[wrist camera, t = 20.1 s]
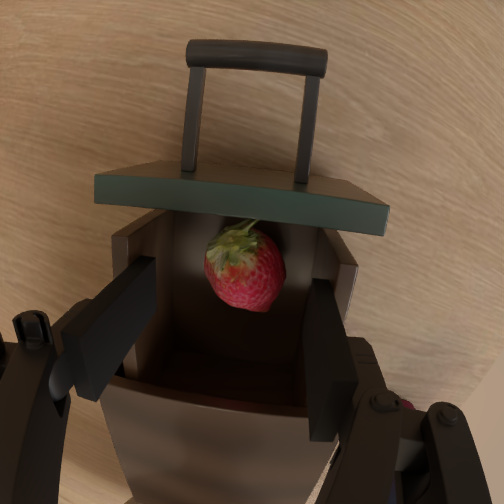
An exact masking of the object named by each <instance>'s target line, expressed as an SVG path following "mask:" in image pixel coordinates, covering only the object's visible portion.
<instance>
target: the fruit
mask: <svg viewBox="0 0 504 504" xmlns="http://www.w3.org/2000/svg"><path fill="white" fill-rule="evenodd" d="M254 220H255V219H246V220H244V221H242V222H241V223H238V224H236V225H232V226H226V227H225V228H224V229H223V230H222V231H220V232H219V233H218V234H216V235H215V236H214V237H213V238H212V240H211V241H209V242H208V243H207V250H206V254H205V260H204V271H205V275H206V276H207V278H208V280H209V281H210V283H211V286H212V287H213V289H214V291H215V293H216V294H217V295H218V296H219V297H220V298H221V299H222V300H224V301H225V302H226V303H228V304H229V305H231V306H234V307H237V308H244V309H247V310H250V311H256V312H267V311H268V310H269V309H270V307H271V304H272V302H273V301H274V300H275V299H276V297H277V296H278V294H279V292H280V290H281V289H282V286H283V284H284V281H285V279H286V277H287V276H286V268H285V262H284V260H283V258H282V255H281V253H280V251H279V249H278V247H277V245H276V244H275V243H274V241H273V240H272V239H271V238H270V237H268V236H267V235H266V234H264V233H263V232H261V231H259V230H256V229H255V228H254V227H253V226H254V224H255V223H256V222H257V221H258V220H255V221H254Z"/></svg>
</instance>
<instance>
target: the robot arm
mask: <svg viewBox="0 0 504 504" xmlns="http://www.w3.org/2000/svg"><path fill="white" fill-rule="evenodd" d="M156 311H157V294H156V257H150V256H143V255H140V256H139V257H138V258H137V259H136V260H135V261H134V262H133V263H131V264H130V265H129V266H128V267H127V268H126V269H125V270H124V271H123V272H121V273H120V274H119V275H118V276H117V277H116V278H115V279H114V280H113V281H112V282H111V283H110V284H108V285H107V286H106V287H105V288H104V289H103V290H102V291H101V292H100V293H99V294H98V295H97V296H96V297H95V298H94V299H88V298H86V299H84V300H82V301H80V302H78V303H76V304H75V305H74V306H73V307H72V308H70V309H69V311H67V312H66V313H65V314H64V315H63V317H61V318H60V319H59V320H58V321H57V322H55V323H54V324H53V325H52V326H51V327H50V323H49V318H48V316H47V314H46V313H44V312H42V311H38V310H30V311H25V312H22V313H20V314H18V315H17V316H15V317H14V318H13V320H12V321H13V325H14V328H15V332H16V335H17V339H18V343H12V342H4V341H3V338H2V335H1V333H0V504H58V493H59V481H60V471H61V462H62V454H63V446H64V439H65V433H66V426H67V420H68V415H69V409H70V404H71V397H70V394H69V390H70V389H71V387H72V386H73V385H74V386H75V389H76V392H77V395H78V396H79V397H82V398H85V399H88V400H91V401H94V402H97V400H98V399H99V397H100V396H101V394H102V392H103V391H104V389H105V388H106V386H107V385H108V383H109V381H110V380H111V378H112V377H113V375H114V374H115V372H116V371H117V369H118V368H119V366H120V364H121V363H122V361H123V360H124V358H125V357H126V355H127V354H128V352H129V351H130V349H131V348H132V346H133V345H134V343H135V342H136V340H137V339H138V337H139V336H140V334H141V333H142V331H143V330H144V328H145V327H146V325H147V324H148V322H149V321H150V319H151V318H152V316H153V315H154V313H155V312H156ZM302 339H303V351H304V363H305V376H306V390H307V405H308V422H309V440H310V442H333V441H334V439H335V437H336V435H337V433H338V436H339V445H338V447H337V449H336V451H335V453H334V455H333V457H332V459H331V461H330V463H329V464H331V465H330V468H329V470H328V473H327V475H326V478H325V480H324V483H323V485H322V488H321V490H320V493H319V495H318V497H317V500H316V502H315V504H388V500H389V496H390V491H391V487H392V482H393V477H394V480H395V492H396V504H492V501H491V497H490V493H489V489H488V486H487V482H486V479H485V475H484V472H483V468H482V465H481V462H480V459H479V455H478V452H477V449H476V446H475V443H474V440H473V437H472V434H471V431H470V429H469V426H468V423H467V420H466V418H465V416H464V414H463V412H462V411H461V410H460V409H459V408H458V407H457V406H455V405H453V404H451V403H447V402H436V403H434V404H433V405H431V406H430V408H429V409H428V411H427V412H424V411H419V410H415V409H410V408H407V407H404V406H403V402H402V400H401V399H400V397H399V396H398V395H397V394H395V393H394V392H392V391H390V390H387V387H386V384H385V381H384V378H383V376H382V373H381V370H380V367H379V365H378V362H377V359H376V357H375V354H374V351H373V348H372V346H371V345H370V344H369V343H368V342H367V341H366V340H365V339H364V338H361V337H348V336H346V332H345V329H344V325H343V322H342V319H341V315H340V312H339V309H338V306H337V302H336V299H335V296H334V293H333V290H332V287H331V284H330V281H329V280H328V279H319V278H312V282H311V288H310V293H309V298H308V303H307V308H306V313H305V317H304V322H303V327H302Z"/></svg>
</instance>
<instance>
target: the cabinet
mask: <svg viewBox="0 0 504 504" xmlns="http://www.w3.org/2000/svg"><path fill="white" fill-rule="evenodd" d="M99 399H100V403H101V406H102V410H103V413H104V417H105V420H106V423H107V426H108V430H109V433H110V436H111V439H112V442H113V445H114V448H115V451H116V454H117V456H118V459H119V462H120V465H121V467H122V470H123V472H124V475H125V478H126V480H127V483H128V485H129V488H130V490H131V492H132V495H133V497H134V499H135V501H136V502H138V503H142V504H305V503H306V501H307V499H308V498H309V496H310V494H311V492H312V491H313V489H314V487H315V485H316V483H317V482H318V480H319V478H320V476H321V474H322V472H323V470H324V468H325V466H326V465H327V463H328V461H329V459H330V457H331V455H332V453H333V451H334V449H335V447H336V444H337V442H338V440H339V436H338V433H337V435H336V437H335V439H334V441H333V442H310V440H309V422H308V407H298V406H286V405H275V404H265V403H256V402H248V401H240V400H233V399H226V398H220V397H213V396H207V395H201V394H196V393H190V392H185V391H180V390H175V389H170V388H165V387H160V386H156V385H151V384H147V383H143V382H139V381H135V380H131V379H127V378H126V377H125V371H124V365H123V361H122V363H121V364H120V366H119V368H118V369H117V371H116V372H115V374H114V375H113V377H112V378H111V380H110V381H109V383H108V385H107V386H106V388H105V389H104V391H103V392H102V394H101V396H100V397H99Z"/></svg>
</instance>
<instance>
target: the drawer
mask: <svg viewBox="0 0 504 504" xmlns="http://www.w3.org/2000/svg"><path fill="white" fill-rule="evenodd" d="M327 60H328V52H327V50H326V49H320V48H314V47H307V46H299V45H291V44H283V43H273V42H261V41H246V40H221V39H191V40H190V41H189V42H188V44H187V48H186V63H187V66H188V67H189V68H191V69H190V77H189V85H188V94H187V103H186V113H185V123H184V134H183V146H182V159H181V162H178V161H155V162H150V163H145V164H140V165H135V166H130V167H126V168H121V169H116V170H112V171H107V172H103V173H99V174H95V176H94V202H95V203H96V204H108V205H120V206H131V207H142V208H153V209H154V210H152V211H151V212H149V213H147V214H146V215H144V216H142V217H140V218H139V219H137V220H135V221H134V222H132V223H130V224H129V225H127V226H126V227H124V228H122V229H121V230H119V231H117V232H116V233H114V234H113V235H112V236H111V238H112V261H113V277H114V279H115V278H116V277H117V276H118V275H119V274H120V273H121V272H123V271H124V270H125V269H126V268H127V267H128V266H129V265H130V264H131V263H133V262H134V261H135V260H136V259H137V258H138V257H139V256H140V255H143V256H150V257H156V294H157V311H156V312H155V313H154V315H153V316H152V318H151V319H150V321H149V322H148V324H147V325H146V327H145V328H144V330H143V331H142V333H141V334H140V336H139V337H138V339H137V340H136V342H135V343H134V345H133V346H132V348H131V349H130V351H129V352H128V354H127V355H126V357H125V358H124V360H123V365H124V371H125V377H126V378H127V379H131V380H135V381H139V382H143V383H147V384H151V385H156V386H160V387H165V388H170V389H175V390H180V391H185V392H190V393H196V394H201V395H207V396H213V397H220V398H226V399H233V400H240V401H248V402H256V403H265V404H275V405H286V406H298V407H308V405H307V390H306V376H305V363H304V351H303V339H302V327H303V322H304V317H305V313H306V308H307V303H308V298H309V293H310V288H311V282H312V278H319V279H328V280H329V281H330V284H331V287H332V290H333V293H334V296H335V299H336V302H337V306H338V309H339V312H340V315H341V319H342V322H343V325H344V323H345V320H346V316H347V312H348V308H349V304H350V300H351V296H352V292H353V288H354V284H355V280H356V276H357V271H358V264H357V262H356V261H355V259H354V257H353V256H352V254H351V252H350V251H349V249H348V248H347V246H346V244H345V243H344V241H343V240H342V238H341V236H340V235H339V233H338V232H337V230H342V231H349V232H356V233H363V234H370V235H377V236H384V235H385V230H386V226H387V221H388V215H389V210H390V206H389V205H387V204H386V203H384V202H383V201H381V200H379V199H378V198H376V197H374V196H373V195H371V194H369V193H368V192H366V191H364V190H363V189H361V188H359V187H357V186H356V185H354V184H352V183H350V182H349V181H347V180H340V179H334V178H328V177H321V176H314V175H309V172H310V164H311V156H312V148H313V139H314V131H315V122H316V113H317V104H318V94H319V84H320V78H321V79H323V78H324V77H325V73H326V68H327ZM205 68H219V69H240V70H254V71H266V72H276V73H285V74H293V75H301V76H306V78H305V85H304V95H303V105H302V114H301V123H300V132H299V140H298V149H297V157H296V166H295V173H292V172H284V171H276V170H268V169H259V168H249V167H240V166H229V165H218V164H206V163H197V156H198V144H199V133H200V123H201V113H202V103H203V94H204V85H205V77H206V69H205ZM246 219H255V220H258V221H257V222H256V223H255V224H254V226H253V227H254V228H255V229H256V230H259V231H261V232H263V233H264V234H266V235H267V236H268V237H270V238H271V239H272V240H273V241H274V243H275V244H276V245H277V247H278V249H279V251H280V253H281V255H282V258H283V260H284V262H285V268H286V276H287V277H286V279H285V281H284V284H283V286H282V289H281V290H280V292H279V294H278V296H277V297H276V299H275V300H274V301H273V302H272V304H271V307H270V309H269V310H268V311H267V312H256V311H250V310H247V309H244V308H237V307H234V306H231V305H229V304H228V303H226V302H225V301H224V300H222V299H221V298H220V297H219V296H218V295H217V294H216V293H215V291H214V289H213V287H212V286H211V283H210V281H209V280H208V278H207V276H206V275H205V271H204V260H205V254H206V250H207V243H208V242H209V241H211V240H212V238H213V237H214V236H215V235H216V234H218V233H219V232H220V231H222V230H223V229H224V228H225V227H226V226H232V225H236V224H238V223H241V222H242V221H244V220H246ZM255 220H254V221H255Z"/></svg>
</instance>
